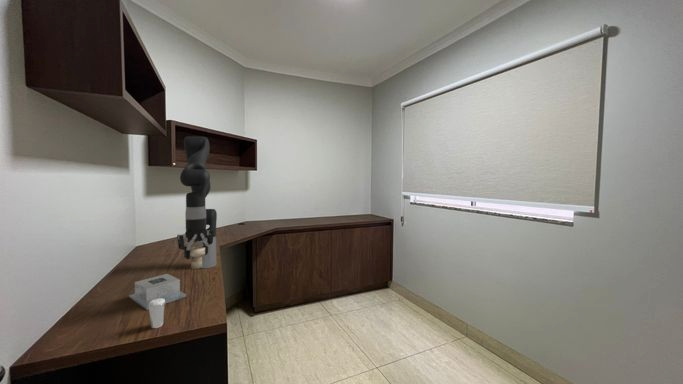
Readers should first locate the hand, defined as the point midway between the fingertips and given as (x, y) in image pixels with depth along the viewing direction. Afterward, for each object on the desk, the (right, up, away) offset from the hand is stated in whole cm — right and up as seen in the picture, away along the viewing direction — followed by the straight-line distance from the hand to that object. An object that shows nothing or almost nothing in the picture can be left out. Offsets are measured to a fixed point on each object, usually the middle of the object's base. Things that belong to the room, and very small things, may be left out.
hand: (196, 256), depth 107 cm
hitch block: (-17, -17, +1) cm, 24 cm away
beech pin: (0, -5, 0) cm, 5 cm away
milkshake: (-2, -19, -20) cm, 27 cm away
